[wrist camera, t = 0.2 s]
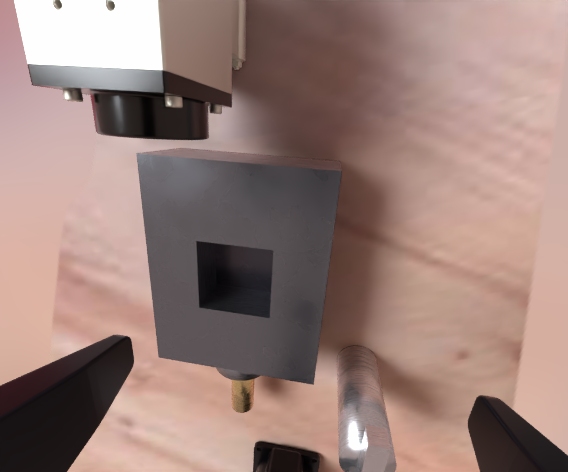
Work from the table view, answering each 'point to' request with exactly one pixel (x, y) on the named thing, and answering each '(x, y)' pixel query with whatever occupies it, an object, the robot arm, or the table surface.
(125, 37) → the pneumatic valve
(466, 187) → the table surface
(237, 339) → the block
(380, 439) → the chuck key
